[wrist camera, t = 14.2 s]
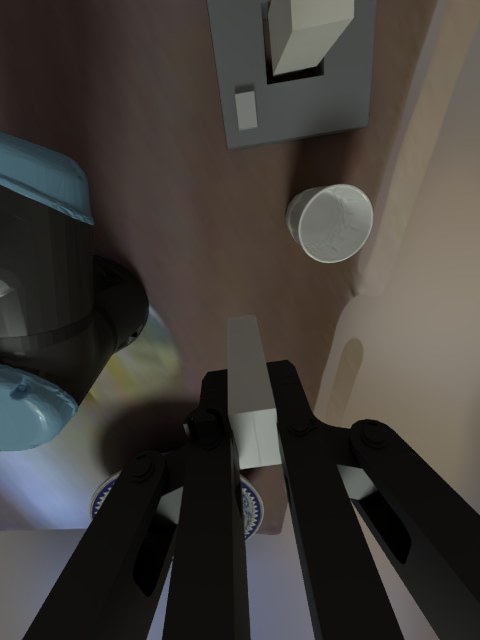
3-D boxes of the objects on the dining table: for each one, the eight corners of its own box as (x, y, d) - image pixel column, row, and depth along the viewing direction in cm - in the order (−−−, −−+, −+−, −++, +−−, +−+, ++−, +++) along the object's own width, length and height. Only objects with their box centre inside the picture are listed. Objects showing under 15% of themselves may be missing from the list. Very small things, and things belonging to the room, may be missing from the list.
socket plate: (227, 151, 33) (227, 147, 29) (200, -44, 25) (196, -78, 22) (356, 130, 32) (371, 124, 29) (366, -74, 25) (388, -114, 22)
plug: (269, 84, 30) (292, 30, 19) (263, 30, 28) (286, -64, 17) (308, 76, 30) (353, 17, 19) (306, 21, 28) (355, -80, 17)
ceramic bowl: (282, 439, 58) (293, 486, 49) (230, 521, 72) (231, 569, 63) (121, 403, 51) (99, 450, 42) (98, 502, 65) (78, 552, 56)
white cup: (275, 193, 35) (292, 197, 26) (334, 175, 35) (372, 173, 26) (286, 251, 39) (304, 271, 30) (340, 235, 38) (374, 251, 29)
